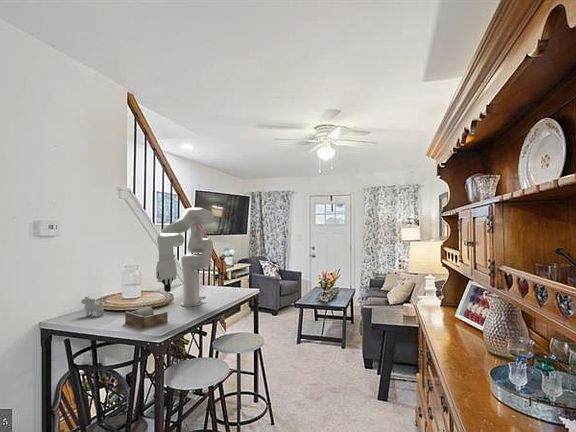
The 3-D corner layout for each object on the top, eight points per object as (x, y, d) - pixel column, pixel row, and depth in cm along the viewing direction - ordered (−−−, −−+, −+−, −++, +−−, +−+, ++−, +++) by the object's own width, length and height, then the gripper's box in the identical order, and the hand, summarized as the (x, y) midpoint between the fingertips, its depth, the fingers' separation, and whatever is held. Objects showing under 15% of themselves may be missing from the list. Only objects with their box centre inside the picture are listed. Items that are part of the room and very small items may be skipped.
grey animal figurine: (85, 313, 192) (85, 295, 192) (106, 314, 190) (105, 295, 190) (78, 316, 187) (78, 297, 187) (99, 316, 185) (99, 297, 185)
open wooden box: (150, 316, 182) (150, 306, 182) (167, 322, 172) (167, 310, 172) (125, 323, 172) (125, 311, 172) (141, 328, 161) (141, 317, 161)
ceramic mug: (131, 323, 170) (131, 308, 170) (147, 320, 176) (147, 305, 177) (141, 327, 163) (141, 312, 163) (157, 323, 170) (157, 308, 170)
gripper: (174, 255, 190) (176, 287, 190) (149, 259, 178) (150, 293, 179) (182, 256, 185) (183, 289, 186) (157, 260, 174) (158, 295, 174)
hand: (167, 291), depth 182 cm, fingers closed
